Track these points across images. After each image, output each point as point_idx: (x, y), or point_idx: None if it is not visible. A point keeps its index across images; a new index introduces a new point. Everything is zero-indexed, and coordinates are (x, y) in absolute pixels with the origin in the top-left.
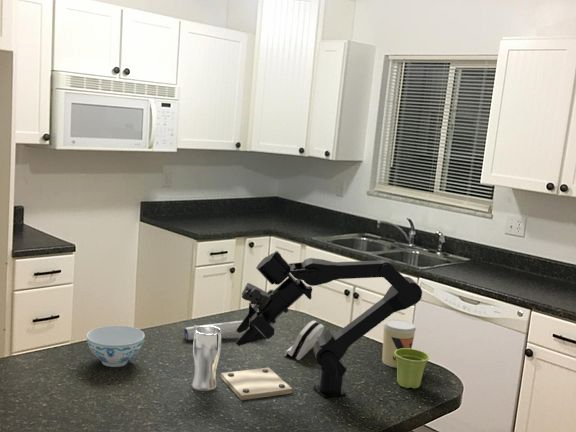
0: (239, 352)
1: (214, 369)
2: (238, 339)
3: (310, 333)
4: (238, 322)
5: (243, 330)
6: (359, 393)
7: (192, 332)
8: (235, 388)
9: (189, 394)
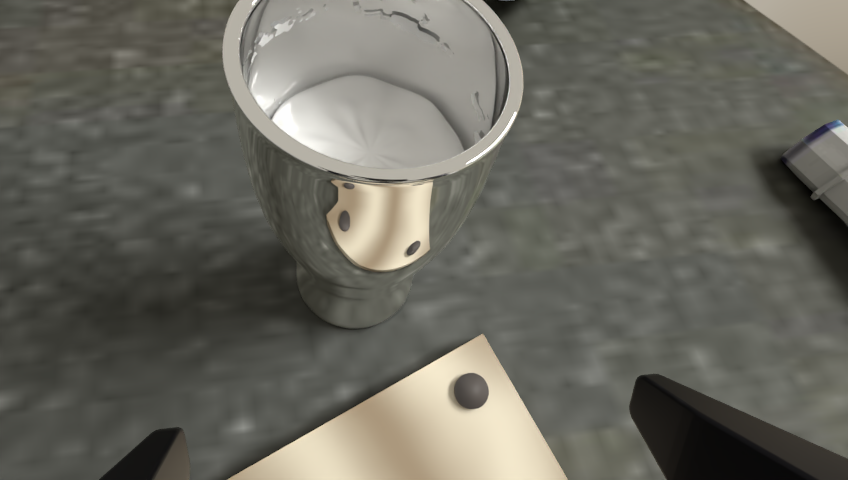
0: (797, 398)
1: (321, 285)
2: (149, 464)
3: None
4: None
5: (667, 471)
6: None
7: (827, 158)
8: (295, 442)
9: (256, 217)
